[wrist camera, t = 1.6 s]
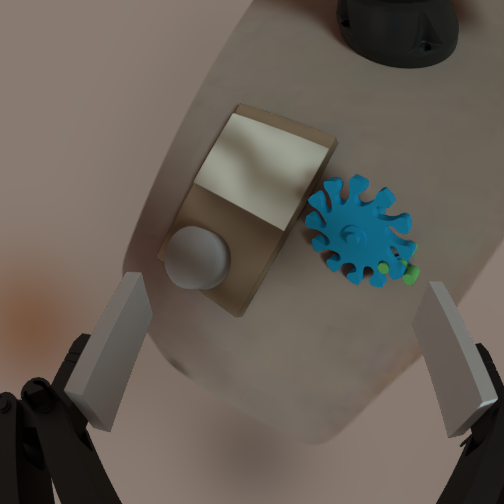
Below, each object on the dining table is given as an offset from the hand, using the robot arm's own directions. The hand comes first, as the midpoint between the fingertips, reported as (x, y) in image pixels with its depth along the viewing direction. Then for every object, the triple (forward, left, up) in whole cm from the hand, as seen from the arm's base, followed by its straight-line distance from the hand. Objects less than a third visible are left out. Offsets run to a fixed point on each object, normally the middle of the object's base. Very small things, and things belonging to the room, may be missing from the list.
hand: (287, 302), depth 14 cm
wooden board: (-3, -13, -16) cm, 21 cm away
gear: (-5, 0, -17) cm, 17 cm away
